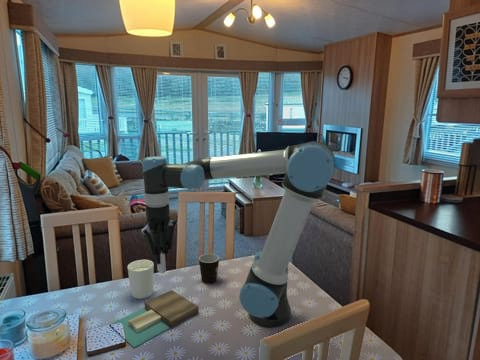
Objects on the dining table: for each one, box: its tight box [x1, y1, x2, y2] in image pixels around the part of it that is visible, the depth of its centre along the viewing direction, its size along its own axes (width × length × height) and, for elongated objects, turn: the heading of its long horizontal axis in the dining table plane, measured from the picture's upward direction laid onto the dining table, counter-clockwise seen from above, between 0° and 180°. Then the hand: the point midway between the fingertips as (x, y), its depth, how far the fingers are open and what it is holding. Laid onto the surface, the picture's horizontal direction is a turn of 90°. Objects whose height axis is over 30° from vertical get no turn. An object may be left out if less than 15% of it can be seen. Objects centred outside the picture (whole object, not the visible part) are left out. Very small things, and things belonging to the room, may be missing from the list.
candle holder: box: [127, 259, 155, 300], centre depth 132 cm, size 10×10×12 cm
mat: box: [108, 307, 171, 349], centre depth 113 cm, size 16×13×1 cm
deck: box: [143, 289, 199, 329], centre depth 122 cm, size 16×12×2 cm
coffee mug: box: [198, 253, 220, 285], centre depth 144 cm, size 12×9×10 cm
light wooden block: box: [128, 310, 162, 333], centre depth 114 cm, size 6×9×2 cm, turn 137°
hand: (161, 271), depth 114 cm, fingers closed
